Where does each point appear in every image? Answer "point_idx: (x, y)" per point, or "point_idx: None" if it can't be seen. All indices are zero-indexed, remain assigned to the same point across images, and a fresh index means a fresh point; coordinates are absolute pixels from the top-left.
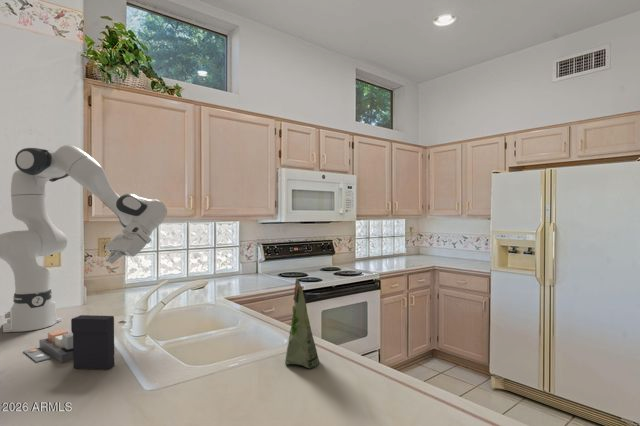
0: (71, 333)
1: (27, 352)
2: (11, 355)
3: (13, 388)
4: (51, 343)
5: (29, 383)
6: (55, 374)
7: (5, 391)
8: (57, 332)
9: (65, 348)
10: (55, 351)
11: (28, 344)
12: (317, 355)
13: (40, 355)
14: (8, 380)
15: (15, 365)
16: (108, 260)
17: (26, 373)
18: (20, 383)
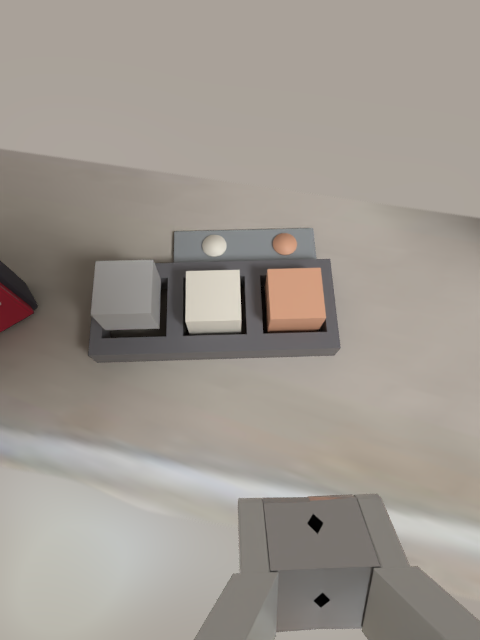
0: (133, 283)
1: (284, 232)
2: (306, 204)
3: (34, 166)
4: (252, 274)
5: (30, 192)
6: (31, 243)
7: (32, 153)
8: (294, 290)
9: (167, 294)
10: (158, 264)
11: (389, 256)
12: None
13: (213, 247)
14: (98, 167)
15: (201, 196)
16: (268, 501)
17: (109, 201)
18: (51, 180)
